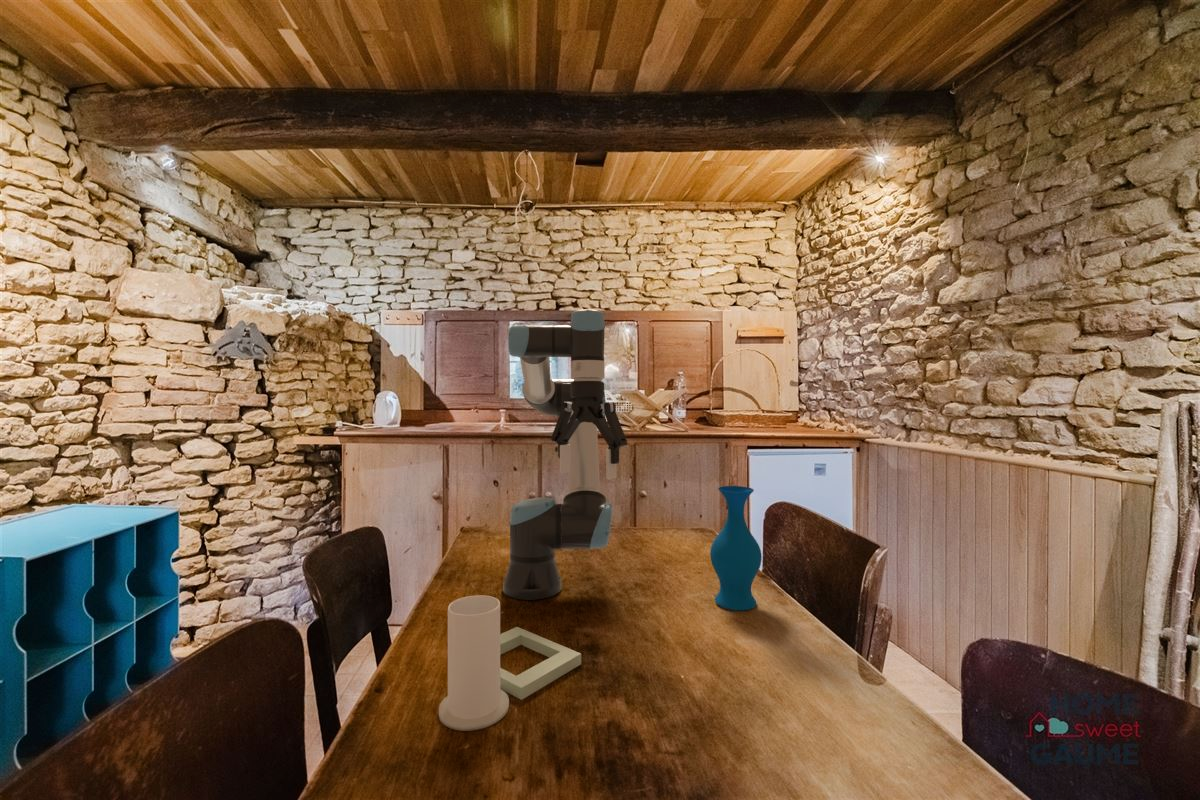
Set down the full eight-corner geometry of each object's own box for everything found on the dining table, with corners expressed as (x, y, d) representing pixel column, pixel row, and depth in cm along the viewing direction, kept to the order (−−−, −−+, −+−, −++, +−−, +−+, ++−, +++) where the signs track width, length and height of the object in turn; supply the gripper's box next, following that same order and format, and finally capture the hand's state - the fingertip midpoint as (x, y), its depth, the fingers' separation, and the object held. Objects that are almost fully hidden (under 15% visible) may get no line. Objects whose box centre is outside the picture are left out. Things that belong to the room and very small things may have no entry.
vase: (762, 597, 131) (762, 486, 131) (760, 617, 119) (760, 495, 119) (713, 591, 135) (713, 483, 135) (707, 610, 123) (707, 491, 123)
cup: (487, 722, 79) (487, 617, 79) (438, 715, 81) (437, 612, 81) (507, 692, 87) (507, 597, 87) (462, 686, 89) (462, 593, 89)
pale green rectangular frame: (456, 664, 98) (456, 653, 98) (516, 636, 109) (516, 626, 109) (521, 699, 86) (521, 687, 86) (581, 664, 98) (581, 653, 98)
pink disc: (424, 711, 83) (424, 706, 83) (480, 682, 92) (480, 678, 92) (466, 740, 76) (466, 735, 76) (523, 706, 85) (523, 701, 85)
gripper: (536, 381, 121) (536, 472, 121) (622, 378, 105) (622, 483, 105) (558, 381, 127) (558, 468, 127) (643, 379, 111) (643, 479, 111)
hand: (587, 475), depth 116 cm, fingers open, 13 cm apart
